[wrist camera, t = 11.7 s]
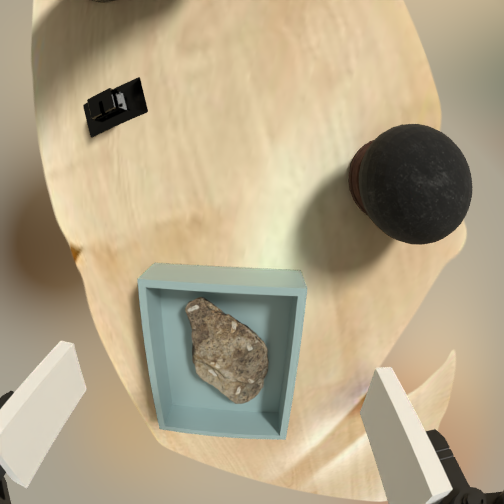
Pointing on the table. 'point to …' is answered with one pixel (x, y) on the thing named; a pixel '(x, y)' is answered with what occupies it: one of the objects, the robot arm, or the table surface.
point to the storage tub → (180, 346)
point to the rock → (226, 352)
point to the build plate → (115, 107)
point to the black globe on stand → (412, 183)
